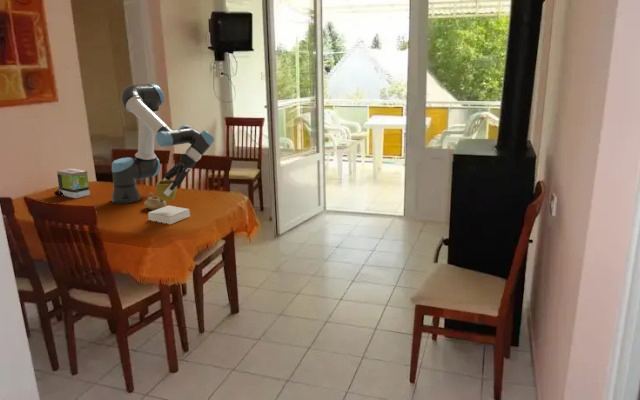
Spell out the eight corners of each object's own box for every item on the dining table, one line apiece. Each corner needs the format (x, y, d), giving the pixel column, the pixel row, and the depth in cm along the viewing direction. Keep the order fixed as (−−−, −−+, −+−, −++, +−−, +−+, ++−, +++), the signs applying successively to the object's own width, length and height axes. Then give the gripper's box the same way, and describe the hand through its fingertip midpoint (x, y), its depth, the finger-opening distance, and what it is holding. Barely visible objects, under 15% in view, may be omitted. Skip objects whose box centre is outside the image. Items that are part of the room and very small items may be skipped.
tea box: (90, 195, 295) (87, 170, 291) (74, 199, 287) (71, 173, 283) (75, 191, 303) (72, 167, 299) (59, 195, 294) (55, 170, 290)
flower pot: (161, 197, 254) (159, 180, 252) (178, 197, 255) (177, 179, 252) (157, 202, 246) (155, 184, 243) (175, 201, 246) (174, 184, 244)
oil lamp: (158, 214, 260) (157, 199, 258) (139, 209, 268) (138, 195, 265) (174, 209, 269) (173, 194, 266) (156, 204, 276) (155, 190, 274)
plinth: (148, 220, 250) (148, 212, 249) (168, 212, 262) (168, 205, 261) (170, 224, 244) (169, 216, 243) (189, 216, 256) (189, 209, 255)
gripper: (204, 166, 244) (175, 202, 240) (188, 158, 263) (160, 191, 259) (193, 156, 240) (163, 192, 236) (177, 149, 259) (149, 182, 255)
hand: (162, 192), depth 248 cm, fingers closed on flower pot, 11 cm apart
